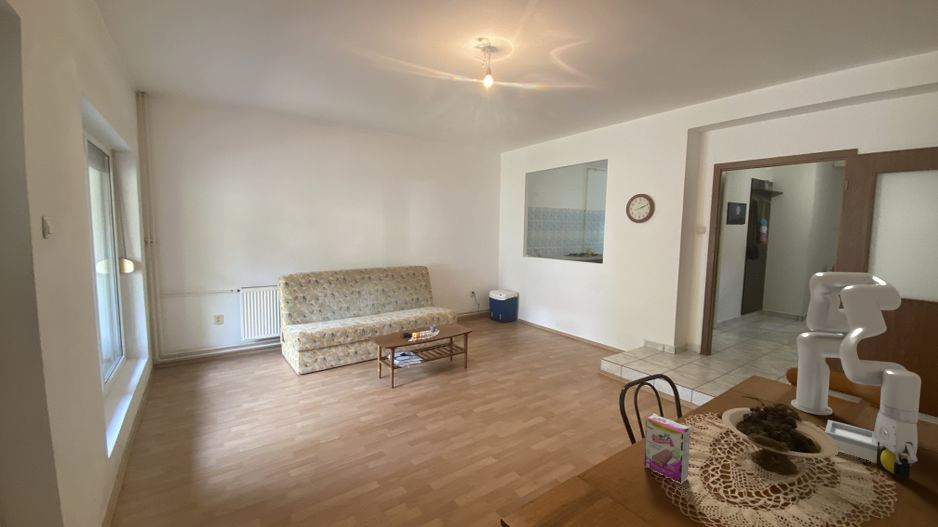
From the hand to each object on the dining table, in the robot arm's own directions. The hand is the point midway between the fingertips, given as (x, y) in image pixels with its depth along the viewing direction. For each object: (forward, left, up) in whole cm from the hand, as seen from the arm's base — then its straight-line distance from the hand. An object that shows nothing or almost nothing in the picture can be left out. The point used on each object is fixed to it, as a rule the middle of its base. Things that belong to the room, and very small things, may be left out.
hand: (893, 469), depth 114 cm
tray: (-13, -4, -1) cm, 14 cm away
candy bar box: (+22, -64, -2) cm, 68 cm away
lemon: (0, 0, -2) cm, 2 cm away
